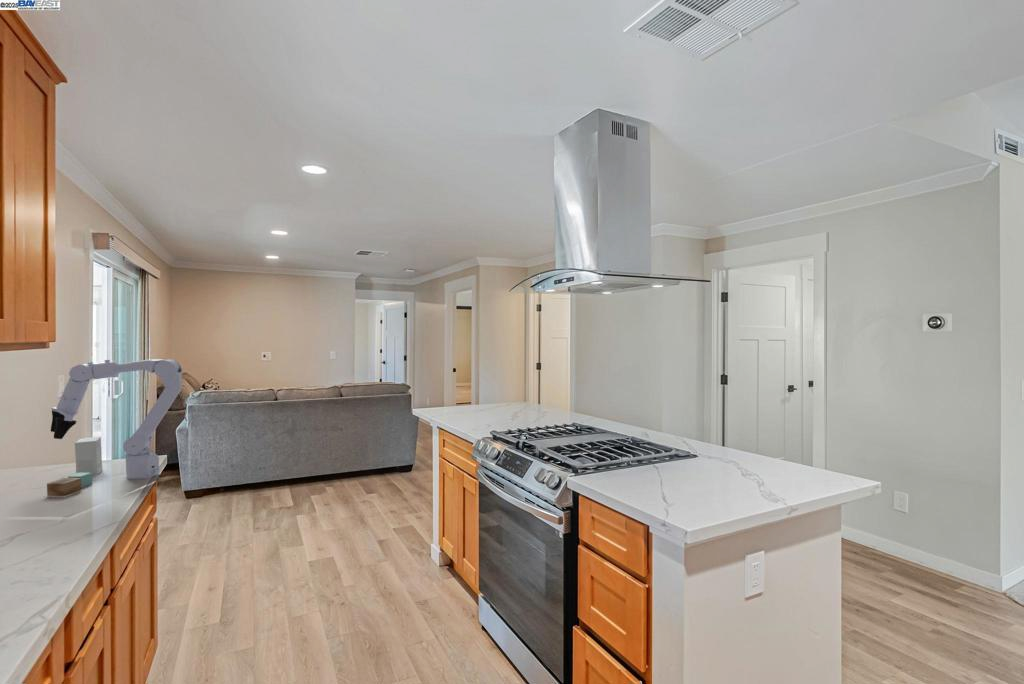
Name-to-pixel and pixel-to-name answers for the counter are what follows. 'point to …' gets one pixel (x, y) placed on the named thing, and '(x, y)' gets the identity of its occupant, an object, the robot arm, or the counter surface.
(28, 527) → the counter surface
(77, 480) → the walnut block
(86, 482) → the teal block
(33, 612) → the counter surface
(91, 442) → the small box
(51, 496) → the mat
